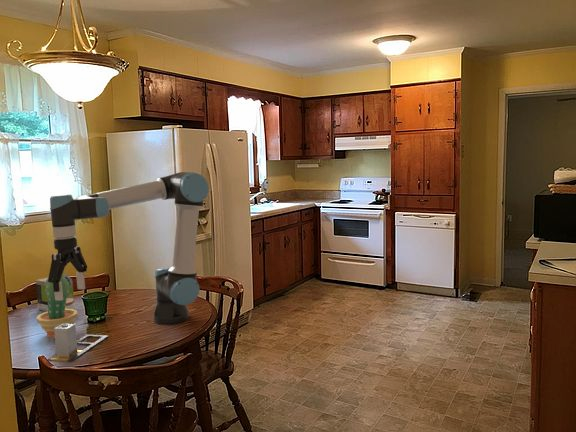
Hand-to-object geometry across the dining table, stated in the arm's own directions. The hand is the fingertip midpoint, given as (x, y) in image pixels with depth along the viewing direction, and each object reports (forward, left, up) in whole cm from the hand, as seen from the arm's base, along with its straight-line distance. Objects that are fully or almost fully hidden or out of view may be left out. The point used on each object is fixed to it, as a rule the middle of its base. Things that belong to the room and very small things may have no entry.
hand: (70, 294), depth 178 cm
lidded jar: (+29, -34, -22) cm, 49 cm away
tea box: (+40, -45, -22) cm, 64 cm away
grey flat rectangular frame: (0, -3, -22) cm, 22 cm away
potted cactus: (+18, -16, -22) cm, 32 cm away
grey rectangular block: (0, +5, -21) cm, 22 cm away
